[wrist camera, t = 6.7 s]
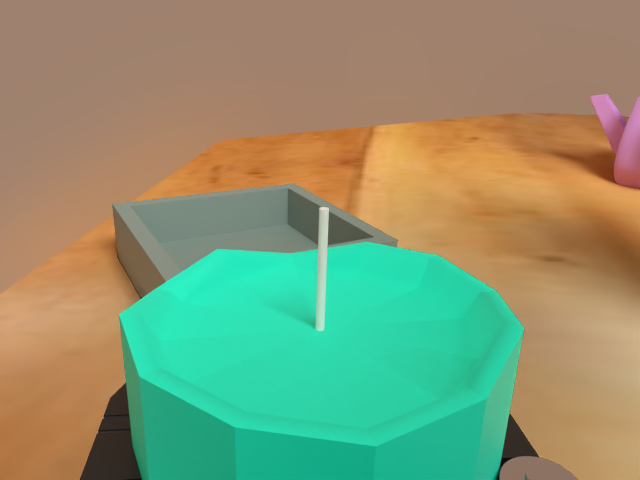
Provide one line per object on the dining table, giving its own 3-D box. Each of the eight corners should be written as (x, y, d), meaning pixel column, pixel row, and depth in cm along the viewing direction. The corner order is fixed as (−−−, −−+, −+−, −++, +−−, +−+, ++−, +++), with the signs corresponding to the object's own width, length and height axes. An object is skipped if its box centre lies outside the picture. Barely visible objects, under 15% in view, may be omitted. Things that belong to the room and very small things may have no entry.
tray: (293, 230, 47) (293, 183, 46) (392, 299, 36) (397, 240, 34) (117, 257, 41) (112, 204, 39) (171, 352, 29) (166, 282, 28)
